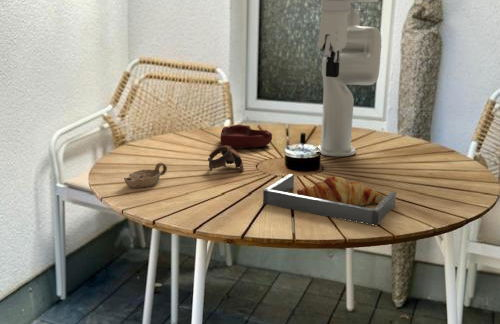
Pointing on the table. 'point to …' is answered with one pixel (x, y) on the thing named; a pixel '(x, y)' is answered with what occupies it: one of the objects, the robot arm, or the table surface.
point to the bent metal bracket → (324, 203)
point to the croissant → (342, 192)
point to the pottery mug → (225, 158)
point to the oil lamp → (145, 177)
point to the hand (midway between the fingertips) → (332, 76)
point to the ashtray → (244, 137)
